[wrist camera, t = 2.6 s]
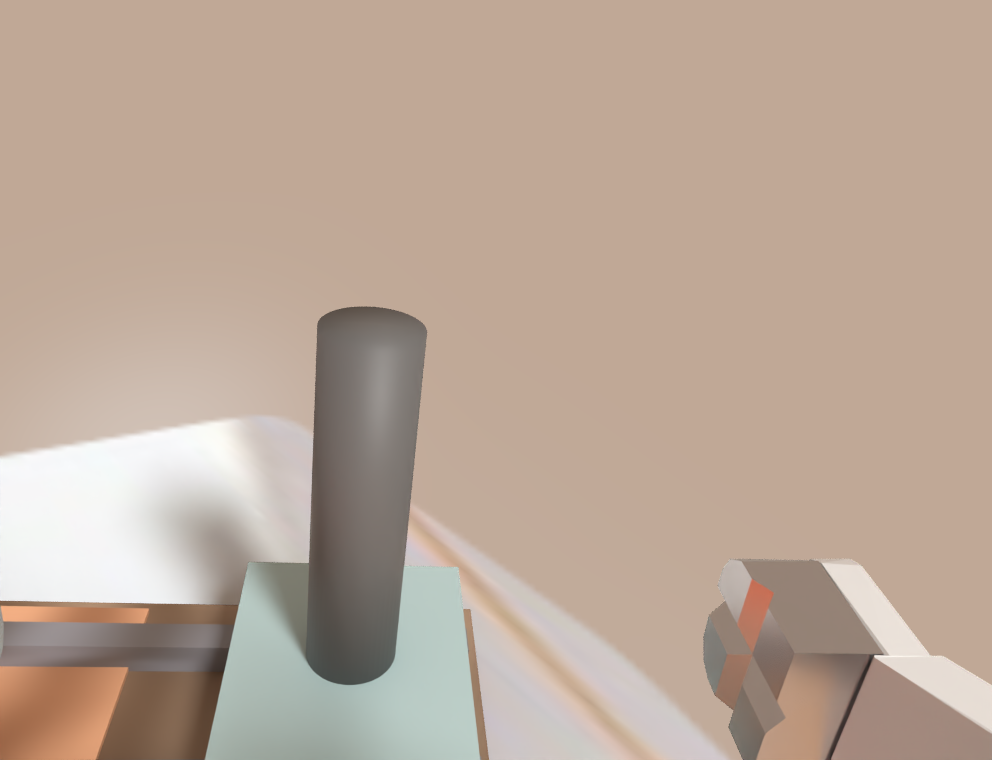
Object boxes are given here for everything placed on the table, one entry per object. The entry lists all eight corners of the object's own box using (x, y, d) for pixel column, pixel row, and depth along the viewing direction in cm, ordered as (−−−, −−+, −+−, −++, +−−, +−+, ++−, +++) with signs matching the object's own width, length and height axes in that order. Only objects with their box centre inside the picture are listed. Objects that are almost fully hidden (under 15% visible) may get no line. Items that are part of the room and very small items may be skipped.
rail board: (-471, 951, 23) (-542, 841, 21) (-197, 627, 33) (-226, 533, 31) (497, 913, 27) (517, 818, 25) (466, 635, 37) (478, 553, 35)
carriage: (205, 812, 25) (188, 397, 19) (248, 602, 33) (247, 261, 27) (473, 807, 26) (539, 416, 20) (453, 606, 34) (496, 281, 28)
